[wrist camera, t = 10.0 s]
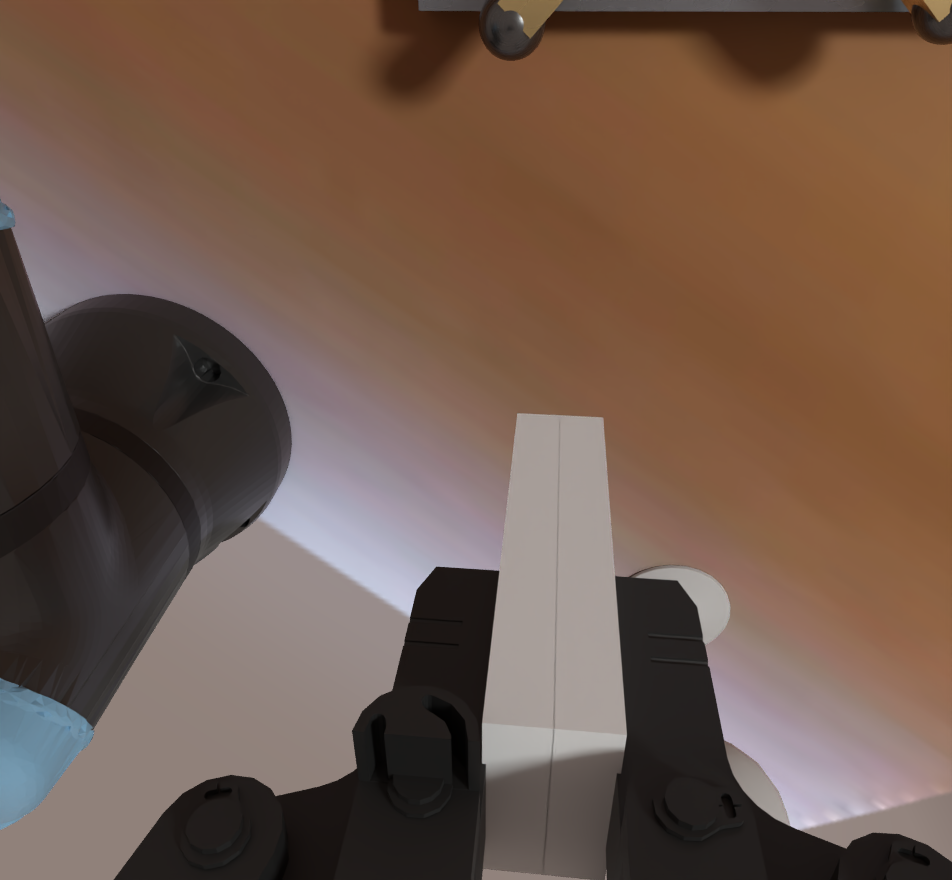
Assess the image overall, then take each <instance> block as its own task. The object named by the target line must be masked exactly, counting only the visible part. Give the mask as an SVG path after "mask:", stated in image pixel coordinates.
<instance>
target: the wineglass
mask: <svg viewBox="0 0 952 880" xmlns="http://www.w3.org/2000/svg"><path fill="white" fill-rule="evenodd" d="M631 577H633V578H648V579H663V580H678V582H679V583H680V584H681V586H682V587H683V588H684V590H685V591H686V592H687V594H688V595H689V596H690V598H691V599H692V600H693V602H694V603H695V604H696V606H697V608H698V613H699V618H700V623H701V628H702V633H703V642H704V643H705V645H706V644H708V643H710V642H711V641H712V640H714V639H715V638H716V637H718V636H719V634H720V633H721V632H722V631H723V629H724V628H725V627H726V624H727V622H728V620H729V617H730V603H729V599H728V596H727V593H726V591H725V590H724V588H723V587H722V585H721V584H720V583H719V582H718V581H717V580H715V579H714V578H713V577H712V576H710V575H708V574H706V573H704V572H702V571H700V570H698V569H694V568H690V567H687V566H676V565H667V566H658V567H653V568H650V569H646V570H643V571H641V572H639V573H637V574H635V575H633V576H631ZM724 743H725V748H726V753H727V758H728V761H729V764H730V767H731V770H732V773H733V775H734V777H735V778H736V780H737V781H738V783H739V785H740V786H741V788H742V790H743V791H744V792H745V793H746V794H747V795H748V796H749V797H750V798H751V799H752V800H753V802H754V803H755V804H756V805H757V806H759V807H760V808H761V809H763V810H764V811H765V812H767V813H768V814H769V815H771V816H772V817H773V818H775V819H777V820H779V821H781V822H783V823H785V824H787V825H789V826H790V823H789V819H788V816H787V812H786V809H785V807H784V804H783V801H782V799H781V796H780V794H779V791H778V790H777V788H776V787H775V786H774V784H773V783H772V781H771V780H770V779H769V777H768V776H767V775H766V773H765V772H764V771H763V769H762V768H761V767H760V765H759V764H758V763H757V762H756V761H754V760H753V759H752V758H750V757H749V756H748V755H747V754H745V753H744V752H742V751H741V750H739V749H738V748H737V747H735V746H734V745H732V744H731V743H728V742H726V741H724Z"/></svg>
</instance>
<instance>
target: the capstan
mask: <svg viewBox="0 0 952 880" xmlns="http://www.w3.org/2000/svg"><path fill="white" fill-rule="evenodd" d="M562 1H563V0H486V1H485V3H484V5H483V7H482V9H481V12H480V17H479V31H480V36H481V39H482V41H483V43H484V45H485V46H486V48H487V49H488V50H489V51H490V52H491V53H492V54H493V55H494V56H496V57H498V58H500V59H503V60H507V61H515V60H520V59H523V58H525V57H527V56H528V55H530V54H531V53H532V52H533V51H534V50H535V49H536V48H537V47H538V45H539V43H540V42H541V40H542V37H543V34H544V30H545V21H546V20H547V19H548V18H549V16H550V15H551V14H552V13H553V12H554V10H555V9H556V8H557V7H558V6H559V5H560V3H561V2H562ZM901 1H902V2H903V4H904V5H905V6H906V8H907V9H908V10H909V12H910V13H911V19H912V24H913V27H914V29H915V31H916V33H917V34H918V35H919V36H920V37H921V38H922V39H924V40H925V41H927V42H930V43H933V44H939V45H945V44H952V0H901Z"/></svg>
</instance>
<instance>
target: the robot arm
mask: <svg viewBox="0 0 952 880" xmlns="http://www.w3.org/2000/svg"><path fill="white" fill-rule="evenodd" d="M14 226H15V217H14V213H13V211H12V209H10V208H9V207H8V206H7V205H6V204H4V203H2V202H1V199H0V830H1V829H3V828H5V827H7V826H9V825H11V824H13V823H15V822H17V821H18V820H20V819H21V818H22V817H23V816H24V815H26V814H28V813H30V812H31V811H33V810H34V809H35V808H36V807H37V806H38V805H39V804H40V803H41V802H42V801H43V800H44V799H45V797H46V796H47V795H48V793H49V792H50V791H51V789H52V788H53V786H54V785H55V784H56V782H57V781H58V780H59V778H60V777H61V776H62V774H63V773H64V772H65V770H66V769H67V768H68V766H69V765H70V764H71V762H72V761H73V760H74V758H75V757H76V756H77V754H78V753H79V752H80V751H81V750H83V749H84V748H86V747H87V746H88V744H89V743H90V741H91V740H92V738H93V735H94V734H93V733H94V731H93V729H94V727H95V726H96V724H97V722H98V721H99V719H100V717H101V716H102V714H103V712H104V711H105V709H106V707H107V706H108V704H109V703H110V701H111V699H112V697H113V696H114V694H115V693H116V691H117V689H118V688H119V686H120V684H121V683H122V681H123V679H124V678H125V676H126V675H127V673H128V671H129V670H130V668H131V666H132V665H133V663H134V661H135V660H136V658H137V656H138V655H139V653H140V652H141V650H142V648H143V647H144V645H145V644H146V642H147V640H148V639H149V637H150V635H151V634H152V632H153V631H154V629H155V627H156V626H157V624H158V623H159V621H160V619H161V618H162V616H163V614H164V613H165V611H166V610H167V608H168V606H169V605H170V603H171V601H172V600H173V598H174V597H175V595H176V593H177V592H178V590H179V589H180V587H181V585H182V583H183V582H184V580H185V579H186V577H187V575H188V574H189V572H190V571H191V569H192V567H193V566H194V565H195V564H196V563H198V562H199V561H201V560H202V559H203V558H205V557H206V556H207V555H209V554H210V553H211V552H212V551H213V550H215V549H216V548H217V547H218V545H219V544H220V543H221V542H223V541H226V540H228V539H230V538H232V537H234V536H235V535H237V534H238V533H240V532H242V531H243V530H244V529H246V528H247V527H249V526H250V525H251V524H252V523H253V522H254V521H255V520H256V519H257V518H258V517H259V516H260V515H261V514H262V513H263V512H264V510H265V509H266V508H267V506H268V505H269V503H270V502H271V500H272V498H273V496H274V495H275V493H276V491H277V489H278V487H279V486H280V484H281V482H282V480H283V478H284V476H285V474H286V471H287V468H288V465H289V461H290V455H291V445H292V441H291V427H290V422H289V417H288V413H287V410H286V407H285V404H284V401H283V399H282V397H281V394H280V392H279V390H278V388H277V386H276V384H275V383H274V381H273V379H272V378H271V376H270V375H269V373H268V372H267V370H266V369H265V367H264V366H263V365H262V364H261V362H260V361H259V360H258V359H257V357H256V356H255V355H254V354H253V353H252V352H251V351H250V350H249V349H248V348H247V347H246V346H245V345H244V344H243V343H242V342H241V341H240V340H239V339H237V338H236V337H235V336H234V335H233V334H231V333H230V332H229V331H227V330H226V329H225V328H223V327H222V326H220V325H219V324H217V323H216V322H214V321H213V320H211V319H209V318H208V317H206V316H204V315H202V314H200V313H198V312H196V311H194V310H192V309H190V308H187V307H185V306H182V305H180V304H177V303H174V302H171V301H167V300H164V299H160V298H155V297H150V296H144V295H133V294H117V295H107V296H100V297H96V298H92V299H89V300H86V301H83V302H81V303H78V304H76V305H74V306H72V307H70V308H69V309H67V310H65V311H64V312H63V313H61V314H60V315H58V316H57V317H55V318H54V319H52V320H51V321H50V322H48V323H47V324H44V322H43V319H42V316H41V313H40V310H39V307H38V304H37V301H36V298H35V295H34V293H33V290H32V287H31V284H30V281H29V278H28V275H27V272H26V269H25V267H24V264H23V261H22V258H21V255H20V252H19V249H18V246H17V243H16V241H15V238H14V235H13V232H12V229H11V227H14ZM352 734H353V741H354V749H355V756H356V764H357V769H356V770H354V771H353V772H351V773H350V774H348V775H346V776H344V777H343V778H341V779H339V780H338V781H335V782H332V783H329V784H326V785H323V786H320V787H315V788H311V789H307V790H302V791H297V792H293V793H288V794H284V795H279V796H275V795H274V793H273V791H272V790H271V789H270V788H269V787H267V786H265V785H264V784H262V783H261V782H259V781H258V780H256V779H254V778H250V777H242V776H234V775H229V776H224V777H220V778H215V779H210V780H206V781H205V782H203V783H201V784H199V785H197V786H195V787H194V788H192V789H190V790H188V791H186V792H185V793H183V794H182V795H181V796H180V797H179V798H178V799H177V800H176V801H175V802H174V803H173V804H172V805H171V806H170V807H169V808H168V809H167V810H166V811H165V812H164V813H163V814H162V816H161V817H160V818H159V820H158V821H157V823H156V824H155V825H154V827H153V828H152V829H151V830H150V832H149V833H148V834H147V836H146V837H145V838H144V840H143V841H142V843H141V844H140V845H139V847H138V848H137V849H136V851H135V852H134V853H133V855H132V856H131V857H130V859H129V860H128V861H127V863H126V864H125V865H124V867H123V868H122V869H121V871H120V872H119V873H118V875H117V876H116V877H115V879H114V880H482V871H483V869H491V870H501V871H511V872H521V873H531V874H541V875H551V876H561V877H571V878H580V879H590V880H605V874H606V870H607V880H952V862H951V861H949V860H948V859H947V858H945V857H944V856H942V855H941V854H940V853H938V852H937V851H935V850H934V849H932V848H931V847H930V846H928V845H926V844H924V843H921V842H918V841H916V840H913V839H910V838H908V837H905V836H902V835H900V834H887V833H871V834H868V835H866V836H864V837H861V838H858V839H856V840H853V841H852V842H851V843H850V845H849V846H848V847H847V849H846V848H843V847H840V846H838V845H835V844H833V843H830V842H828V841H825V840H823V839H820V838H817V837H815V836H812V835H810V834H807V833H805V832H802V831H800V830H797V829H795V828H793V827H791V826H789V825H787V824H785V823H783V822H781V821H779V820H777V819H775V818H773V817H772V816H771V815H769V814H768V813H767V812H765V811H764V810H763V809H761V808H760V807H759V806H757V805H756V804H755V803H754V802H753V800H752V799H751V798H750V797H749V796H748V795H747V794H746V793H745V792H744V791H743V790H742V788H741V786H740V785H739V783H738V781H737V780H736V778H735V777H734V775H733V773H732V770H731V767H730V764H729V761H728V758H727V753H726V748H725V743H724V738H723V733H722V728H721V723H720V718H719V713H718V708H717V703H716V698H715V693H714V688H713V683H712V678H711V673H710V668H709V667H708V658H707V653H706V648H705V643H704V642H703V633H702V628H701V623H700V618H699V613H698V608H697V606H696V604H695V603H694V602H693V600H692V599H691V598H690V596H689V595H688V594H687V592H686V591H685V590H684V588H683V587H682V586H681V584H680V583H679V582H678V580H663V579H648V578H633V577H617V576H615V570H614V557H613V544H612V531H611V517H610V504H609V491H608V478H607V464H606V451H605V438H604V425H603V418H602V417H582V416H561V415H540V414H519V413H517V422H516V431H515V439H514V448H513V457H512V466H511V475H510V483H509V492H508V501H507V510H506V518H505V527H504V536H503V545H502V553H501V562H500V571H494V570H479V569H464V568H449V567H436V568H435V569H434V570H433V571H432V572H431V574H430V575H429V576H428V577H427V578H426V580H425V581H424V582H423V583H422V584H421V585H420V587H419V588H418V589H417V591H416V595H415V599H414V604H413V608H412V612H411V616H410V623H409V624H408V628H407V633H406V637H405V644H404V646H403V650H402V653H401V657H400V661H399V665H398V670H397V674H396V678H395V682H394V686H393V690H392V691H391V692H388V693H386V694H384V695H381V696H380V697H378V698H377V699H376V700H375V701H374V702H372V703H371V704H370V705H369V706H368V707H367V708H365V709H364V710H363V711H362V713H361V715H360V717H359V719H358V721H357V723H356V724H355V727H354V728H353V730H352Z"/></svg>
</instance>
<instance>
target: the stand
mask: <svg viewBox="0 0 952 880" xmlns="http://www.w3.org/2000/svg"><path fill="white" fill-rule="evenodd" d="M485 1H486V0H418V3H419V11H481V9H482V7H483V5H484V3H485ZM554 11H736V12H909V10H908V9H907V8H906V6H905V5H904V4H903V2H902V1H901V0H563V1H562V2H561V3H560V5H559V6H558V7H557V8H556V9H555V10H554Z"/></svg>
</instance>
